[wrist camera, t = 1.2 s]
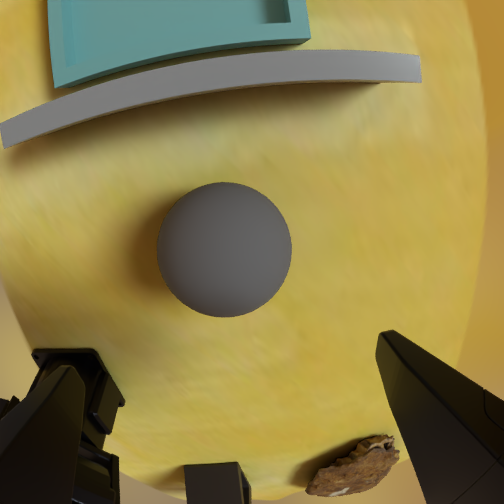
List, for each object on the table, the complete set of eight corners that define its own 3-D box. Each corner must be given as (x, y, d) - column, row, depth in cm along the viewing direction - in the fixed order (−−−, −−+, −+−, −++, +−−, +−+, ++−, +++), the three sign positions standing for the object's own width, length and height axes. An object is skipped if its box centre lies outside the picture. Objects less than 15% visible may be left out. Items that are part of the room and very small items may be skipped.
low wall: (45, 134, 14) (3, 148, 11) (42, 114, 14) (-1, 124, 10) (381, 82, 14) (421, 82, 11) (379, 61, 14) (419, 55, 10)
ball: (181, 279, 19) (166, 351, 13) (158, 179, 16) (124, 223, 11) (285, 265, 19) (305, 335, 13) (275, 161, 16) (299, 197, 11)
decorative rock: (314, 435, 29) (299, 482, 36) (318, 469, 25) (302, 507, 33) (414, 419, 29) (377, 471, 36) (424, 449, 25) (382, 494, 32)
